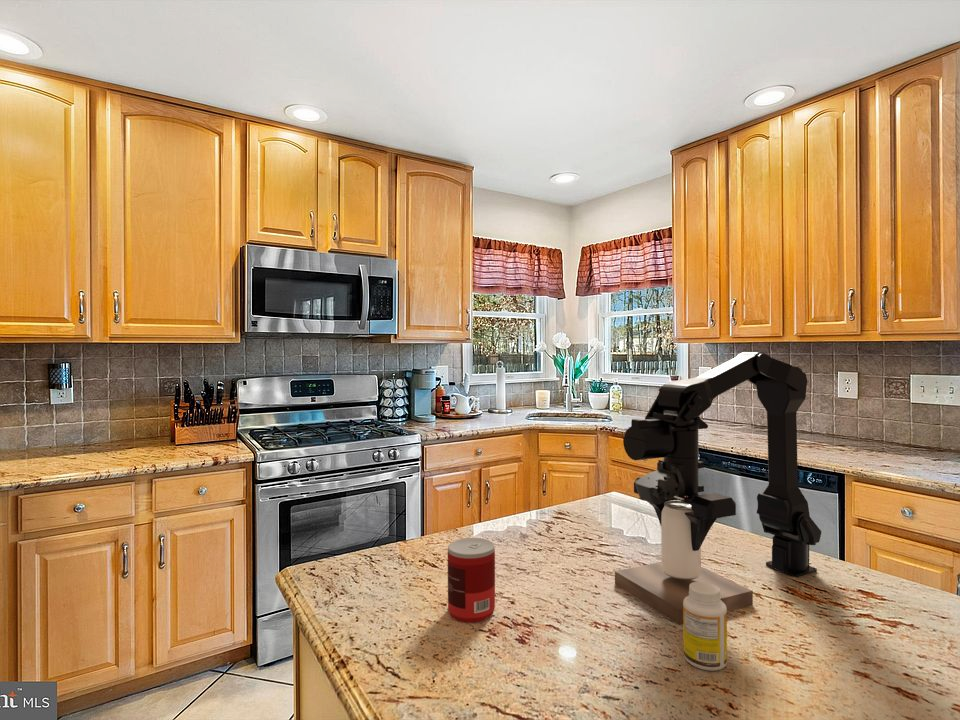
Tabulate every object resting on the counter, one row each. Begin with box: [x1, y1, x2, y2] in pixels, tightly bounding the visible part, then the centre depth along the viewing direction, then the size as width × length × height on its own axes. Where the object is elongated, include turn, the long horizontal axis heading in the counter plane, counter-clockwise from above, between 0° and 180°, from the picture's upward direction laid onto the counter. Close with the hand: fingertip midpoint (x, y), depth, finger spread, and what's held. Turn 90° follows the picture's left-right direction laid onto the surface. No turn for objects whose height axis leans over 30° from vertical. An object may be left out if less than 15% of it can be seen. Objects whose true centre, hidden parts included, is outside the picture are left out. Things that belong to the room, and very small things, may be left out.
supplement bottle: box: [682, 582, 728, 672], centre depth 74 cm, size 6×6×10 cm
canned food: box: [447, 537, 496, 624], centre depth 89 cm, size 8×8×11 cm
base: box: [614, 561, 754, 626], centre depth 95 cm, size 16×16×2 cm
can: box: [660, 500, 702, 580], centre depth 95 cm, size 6×6×12 cm
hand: (681, 544), depth 95 cm, fingers closed on can, 6 cm apart
